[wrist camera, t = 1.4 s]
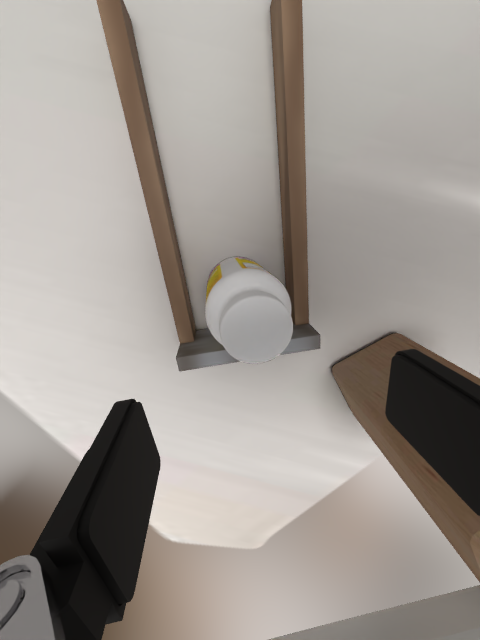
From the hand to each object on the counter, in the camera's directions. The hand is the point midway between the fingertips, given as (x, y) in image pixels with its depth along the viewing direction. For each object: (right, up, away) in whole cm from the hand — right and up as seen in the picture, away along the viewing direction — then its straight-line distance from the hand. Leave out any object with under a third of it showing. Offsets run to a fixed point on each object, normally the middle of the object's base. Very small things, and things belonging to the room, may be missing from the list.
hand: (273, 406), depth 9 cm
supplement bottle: (-1, +7, +18) cm, 20 cm away
